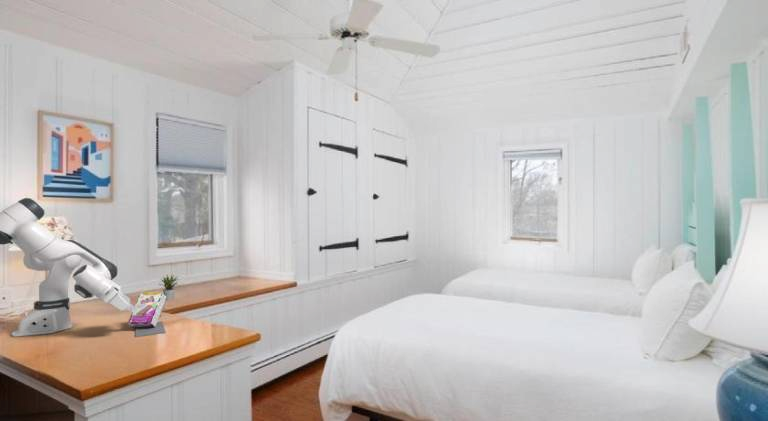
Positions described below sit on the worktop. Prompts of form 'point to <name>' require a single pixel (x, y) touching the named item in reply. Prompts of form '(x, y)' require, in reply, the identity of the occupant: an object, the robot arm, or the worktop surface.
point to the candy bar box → (147, 310)
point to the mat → (151, 330)
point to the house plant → (169, 287)
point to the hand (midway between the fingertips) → (136, 311)
